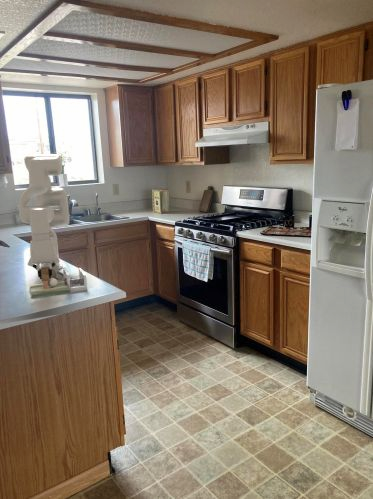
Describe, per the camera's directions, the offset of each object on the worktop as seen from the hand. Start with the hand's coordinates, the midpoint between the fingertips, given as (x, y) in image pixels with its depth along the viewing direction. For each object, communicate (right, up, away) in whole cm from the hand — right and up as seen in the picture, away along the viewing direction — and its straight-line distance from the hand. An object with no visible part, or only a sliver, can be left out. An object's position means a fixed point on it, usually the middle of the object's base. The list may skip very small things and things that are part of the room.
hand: (45, 277), depth 178 cm
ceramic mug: (-3, -2, +21) cm, 21 cm away
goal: (+11, -5, +6) cm, 13 cm away
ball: (+3, -2, +2) cm, 4 cm away
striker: (0, -4, +1) cm, 4 cm away
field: (+1, -6, +2) cm, 6 cm away
